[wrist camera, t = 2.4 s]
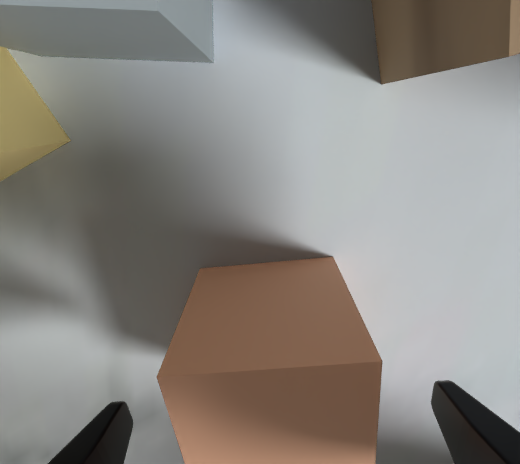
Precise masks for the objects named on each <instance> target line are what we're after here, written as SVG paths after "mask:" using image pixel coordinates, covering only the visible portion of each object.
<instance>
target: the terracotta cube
mask: <svg viewBox="0 0 520 464" xmlns="http://www.w3.org/2000/svg"><path fill="white" fill-rule="evenodd" d="M381 372H382V360H381V358H380V355H379V353H378V351H377V349H376V347H375V345H374V343H373V341H372V338H371V336H370V334H369V332H368V330H367V328H366V326H365V324H364V322H363V319H362V317H361V315H360V313H359V311H358V309H357V307H356V305H355V302H354V300H353V298H352V296H351V294H350V292H349V290H348V288H347V285H346V283H345V281H344V279H343V277H342V275H341V273H340V271H339V269H338V266H337V264H336V262H335V260H334V258H333V257H324V258H312V259H301V260H290V261H278V262H267V263H256V264H244V265H233V266H222V267H210V268H200V270H199V272H198V275H197V277H196V280H195V282H194V285H193V287H192V290H191V292H190V295H189V297H188V300H187V302H186V305H185V307H184V310H183V312H182V315H181V317H180V320H179V323H178V325H177V328H176V330H175V333H174V335H173V338H172V340H171V343H170V345H169V348H168V350H167V353H166V355H165V358H164V360H163V363H162V365H161V368H160V370H159V373H158V375H157V380H158V383H159V386H160V389H161V392H162V395H163V398H164V401H165V404H166V407H167V410H168V413H169V416H170V419H171V423H172V426H173V429H174V432H175V435H176V438H177V441H178V444H179V447H180V450H181V453H182V456H183V459H184V462H185V464H375V461H376V446H377V431H378V416H379V402H380V387H381Z"/></svg>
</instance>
